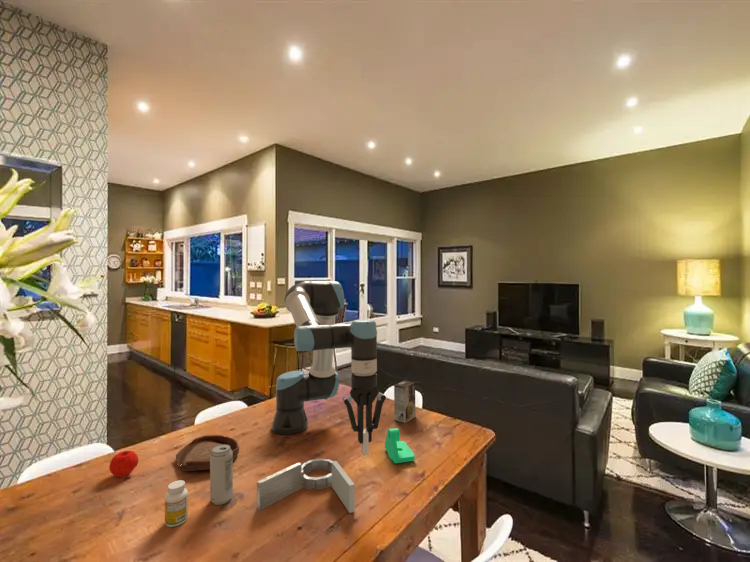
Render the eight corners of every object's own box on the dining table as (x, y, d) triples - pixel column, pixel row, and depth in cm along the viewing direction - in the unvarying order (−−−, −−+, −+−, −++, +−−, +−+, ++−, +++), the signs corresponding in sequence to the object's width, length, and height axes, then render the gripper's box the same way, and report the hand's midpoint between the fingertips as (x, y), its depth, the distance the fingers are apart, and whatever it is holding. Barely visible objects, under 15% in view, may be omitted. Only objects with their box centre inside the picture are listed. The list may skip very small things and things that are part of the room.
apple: (144, 470, 118) (144, 448, 118) (120, 483, 111) (120, 460, 111) (127, 466, 121) (127, 445, 121) (103, 479, 113) (103, 456, 113)
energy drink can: (216, 493, 105) (216, 443, 105) (236, 493, 105) (236, 443, 105) (206, 506, 99) (205, 453, 99) (227, 506, 99) (226, 453, 99)
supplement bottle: (171, 514, 96) (170, 479, 96) (191, 513, 96) (191, 477, 96) (160, 528, 91) (160, 490, 91) (182, 527, 91) (182, 489, 91)
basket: (166, 459, 126) (166, 445, 126) (222, 440, 141) (222, 428, 141) (190, 483, 111) (190, 468, 111) (250, 459, 125) (250, 446, 125)
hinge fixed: (247, 499, 102) (247, 474, 102) (321, 463, 122) (321, 442, 122) (270, 519, 94) (269, 491, 94) (345, 477, 114) (345, 454, 114)
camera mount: (415, 463, 122) (415, 434, 122) (394, 466, 120) (394, 436, 120) (403, 447, 134) (403, 420, 134) (384, 450, 132) (384, 422, 132)
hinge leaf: (349, 513, 95) (349, 485, 95) (331, 486, 108) (331, 461, 108) (354, 511, 96) (354, 484, 96) (336, 484, 109) (336, 460, 109)
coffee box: (404, 413, 167) (403, 379, 167) (415, 416, 163) (415, 382, 163) (393, 420, 159) (393, 384, 159) (405, 423, 156) (405, 387, 156)
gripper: (345, 378, 97) (346, 463, 97) (389, 373, 101) (390, 455, 101) (339, 371, 105) (340, 450, 104) (381, 368, 108) (382, 444, 108)
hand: (364, 453), depth 103 cm, fingers closed
